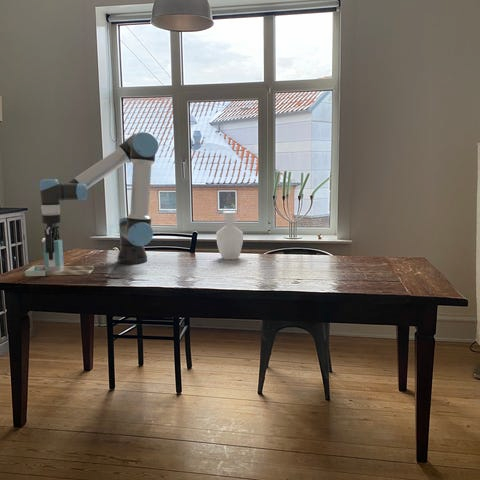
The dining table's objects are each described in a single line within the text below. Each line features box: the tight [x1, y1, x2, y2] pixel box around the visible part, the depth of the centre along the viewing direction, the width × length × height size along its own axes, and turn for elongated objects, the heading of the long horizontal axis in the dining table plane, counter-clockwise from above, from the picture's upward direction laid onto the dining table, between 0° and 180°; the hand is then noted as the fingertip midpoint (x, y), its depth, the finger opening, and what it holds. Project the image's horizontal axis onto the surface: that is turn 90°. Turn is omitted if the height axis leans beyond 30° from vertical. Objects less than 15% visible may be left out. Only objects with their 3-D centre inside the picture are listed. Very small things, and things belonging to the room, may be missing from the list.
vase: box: [215, 210, 244, 260], centre depth 240 cm, size 14×14×25 cm
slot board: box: [46, 265, 95, 276], centre depth 205 cm, size 18×11×2 cm, turn 96°
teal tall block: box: [42, 239, 65, 274], centre depth 203 cm, size 6×6×14 cm
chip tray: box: [24, 264, 47, 277], centre depth 203 cm, size 8×12×3 cm
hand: (54, 265), depth 203 cm, fingers closed on teal tall block, 6 cm apart
